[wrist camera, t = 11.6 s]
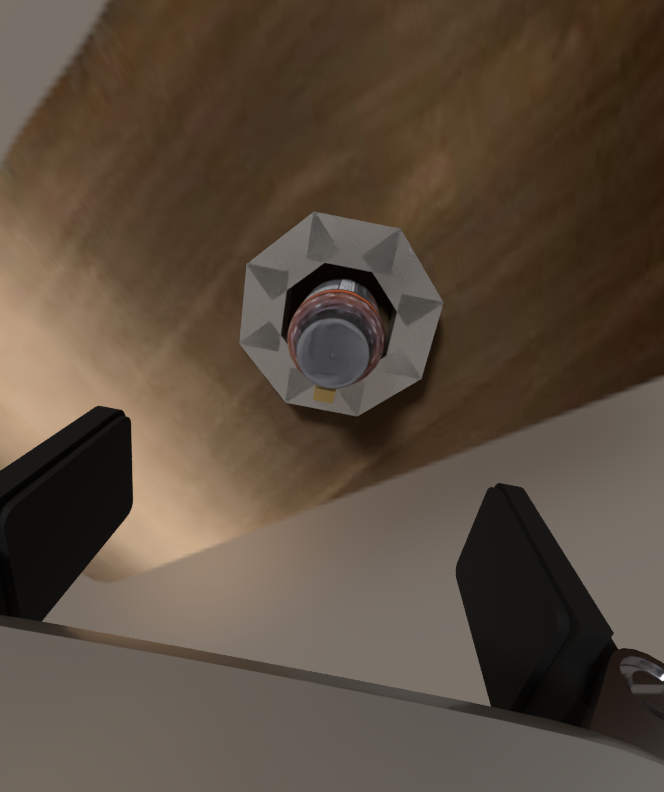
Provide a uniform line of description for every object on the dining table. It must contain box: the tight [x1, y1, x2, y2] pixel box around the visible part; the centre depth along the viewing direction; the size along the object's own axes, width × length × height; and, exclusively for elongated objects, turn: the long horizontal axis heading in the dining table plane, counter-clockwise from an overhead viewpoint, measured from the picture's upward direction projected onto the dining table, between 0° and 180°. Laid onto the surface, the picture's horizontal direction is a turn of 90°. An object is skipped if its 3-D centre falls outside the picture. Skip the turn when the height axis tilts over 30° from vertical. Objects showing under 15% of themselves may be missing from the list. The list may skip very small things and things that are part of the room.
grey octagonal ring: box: [239, 211, 444, 416], centre depth 30 cm, size 14×14×4 cm
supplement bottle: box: [287, 278, 385, 389], centre depth 26 cm, size 6×6×11 cm
